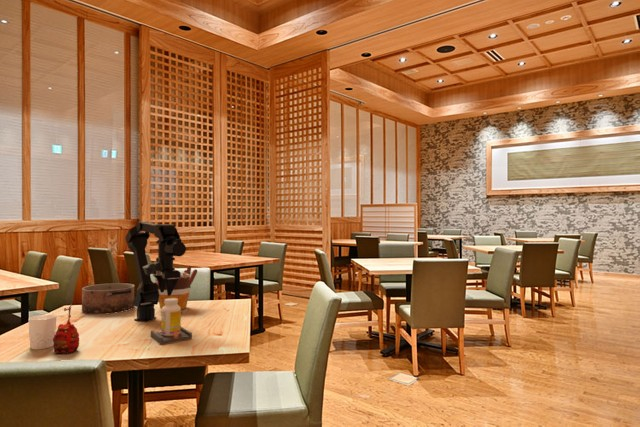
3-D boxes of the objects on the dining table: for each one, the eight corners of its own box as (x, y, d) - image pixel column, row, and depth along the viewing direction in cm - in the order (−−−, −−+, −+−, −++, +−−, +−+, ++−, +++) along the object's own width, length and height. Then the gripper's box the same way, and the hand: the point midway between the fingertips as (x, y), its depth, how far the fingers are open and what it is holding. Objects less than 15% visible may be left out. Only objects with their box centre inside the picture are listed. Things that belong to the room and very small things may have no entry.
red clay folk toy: (47, 354, 132) (48, 307, 133) (61, 348, 140) (62, 303, 140) (71, 355, 133) (72, 307, 133) (84, 348, 140) (84, 303, 140)
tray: (150, 336, 153) (150, 327, 153) (180, 331, 160) (180, 323, 160) (160, 344, 144) (160, 335, 144) (191, 339, 150) (192, 330, 150)
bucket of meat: (165, 314, 188) (166, 270, 188) (145, 309, 198) (146, 267, 198) (202, 307, 204) (202, 266, 204) (182, 303, 214) (182, 264, 214)
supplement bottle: (183, 332, 155) (184, 297, 155) (175, 337, 148) (176, 301, 149) (166, 331, 156) (166, 297, 156) (157, 336, 149) (158, 300, 149)
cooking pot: (69, 309, 199) (69, 286, 200) (115, 301, 217) (115, 281, 218) (100, 318, 182) (100, 293, 182) (147, 309, 200) (147, 287, 200)
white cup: (36, 343, 144) (37, 314, 144) (60, 343, 145) (61, 314, 145) (22, 350, 136) (23, 320, 137) (48, 350, 137) (48, 319, 137)
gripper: (138, 254, 171) (138, 292, 171) (151, 257, 156) (151, 299, 156) (166, 253, 178) (166, 290, 178) (181, 256, 163) (181, 296, 163)
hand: (165, 293), depth 168 cm, fingers open, 9 cm apart
